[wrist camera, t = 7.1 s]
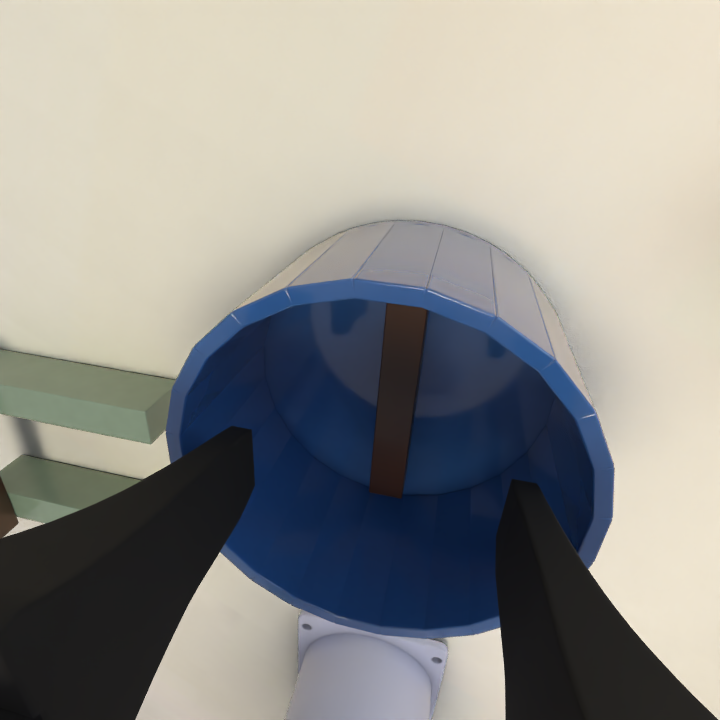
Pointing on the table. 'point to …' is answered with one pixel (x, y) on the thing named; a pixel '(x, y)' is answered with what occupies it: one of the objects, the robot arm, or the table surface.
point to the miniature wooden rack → (75, 427)
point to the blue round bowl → (429, 435)
